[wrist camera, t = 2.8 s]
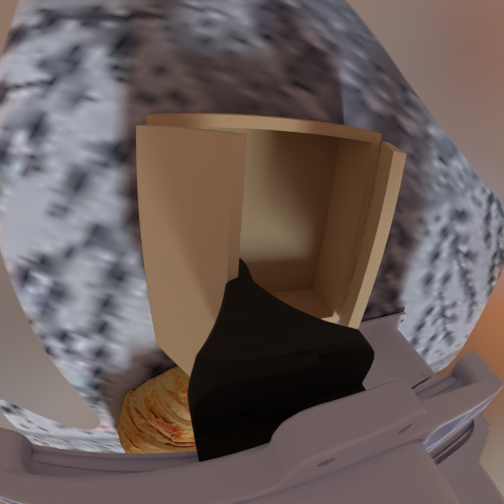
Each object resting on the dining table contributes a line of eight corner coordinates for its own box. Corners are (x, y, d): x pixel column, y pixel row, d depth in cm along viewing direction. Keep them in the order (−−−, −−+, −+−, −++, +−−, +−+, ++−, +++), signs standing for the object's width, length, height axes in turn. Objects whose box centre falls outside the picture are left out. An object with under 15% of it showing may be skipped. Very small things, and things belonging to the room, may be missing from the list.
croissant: (177, 311, 25) (135, 357, 18) (271, 370, 25) (260, 432, 18) (117, 421, 31) (88, 459, 23) (181, 460, 31) (161, 503, 23)
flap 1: (231, 402, 13) (224, 407, 13) (163, 340, 17) (156, 344, 16) (247, 134, 8) (234, 134, 7) (146, 124, 11) (136, 125, 11)
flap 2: (339, 318, 20) (346, 320, 20) (327, 380, 15) (335, 382, 15) (381, 141, 14) (390, 143, 14) (393, 150, 9) (406, 154, 9)
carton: (315, 290, 23) (337, 321, 20) (162, 304, 20) (164, 343, 17) (344, 125, 17) (381, 133, 14) (152, 113, 14) (146, 115, 11)
